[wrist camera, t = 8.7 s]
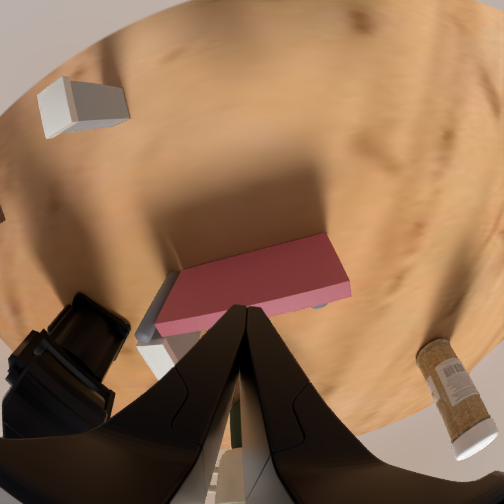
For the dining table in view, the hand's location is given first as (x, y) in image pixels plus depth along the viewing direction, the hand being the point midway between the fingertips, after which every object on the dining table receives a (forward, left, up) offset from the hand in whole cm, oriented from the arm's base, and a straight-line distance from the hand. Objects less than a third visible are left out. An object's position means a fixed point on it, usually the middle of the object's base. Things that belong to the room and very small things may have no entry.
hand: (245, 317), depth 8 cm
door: (-2, +4, -11) cm, 12 cm away
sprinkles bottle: (-25, +1, -12) cm, 28 cm away
